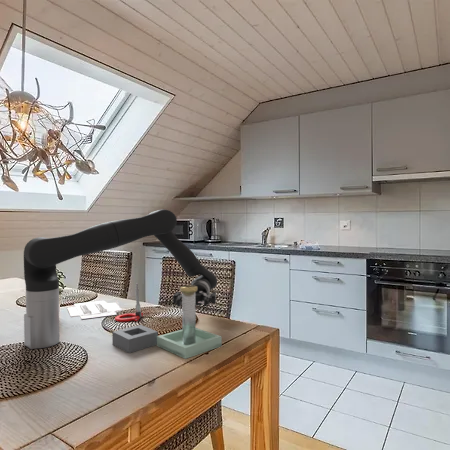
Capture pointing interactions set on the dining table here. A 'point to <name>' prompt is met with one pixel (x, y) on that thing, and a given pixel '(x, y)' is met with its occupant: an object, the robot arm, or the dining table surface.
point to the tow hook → (135, 316)
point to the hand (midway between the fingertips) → (191, 303)
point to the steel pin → (188, 314)
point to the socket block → (134, 338)
